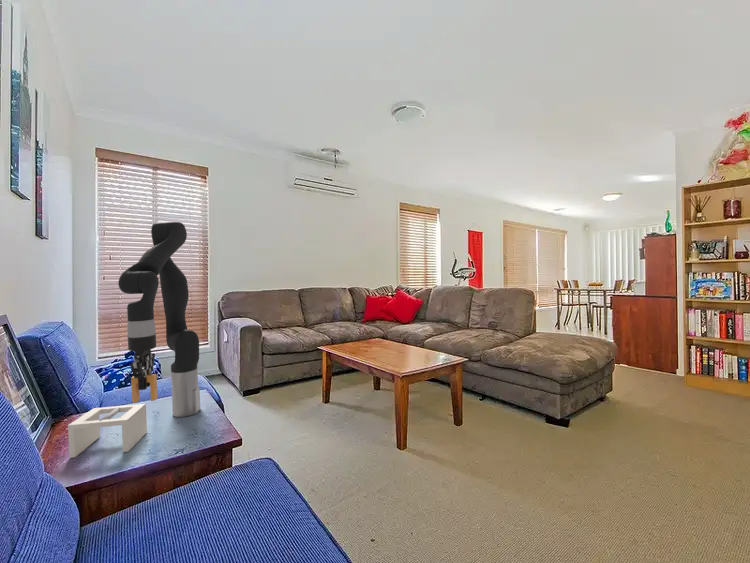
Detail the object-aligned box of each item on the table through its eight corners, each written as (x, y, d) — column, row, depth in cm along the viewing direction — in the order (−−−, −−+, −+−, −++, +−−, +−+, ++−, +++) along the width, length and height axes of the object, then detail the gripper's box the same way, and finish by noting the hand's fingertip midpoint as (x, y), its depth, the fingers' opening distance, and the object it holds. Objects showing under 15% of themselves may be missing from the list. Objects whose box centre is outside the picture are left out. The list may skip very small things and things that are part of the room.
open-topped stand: (147, 431, 127) (145, 403, 127) (128, 451, 113) (126, 419, 113) (95, 437, 124) (93, 408, 123) (69, 457, 110) (67, 425, 110)
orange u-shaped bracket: (157, 398, 118) (156, 373, 118) (155, 400, 116) (153, 375, 115) (135, 400, 117) (134, 375, 116) (132, 402, 114) (131, 377, 114)
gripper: (146, 337, 109) (149, 394, 110) (162, 329, 123) (165, 380, 124) (118, 339, 108) (121, 396, 108) (137, 331, 121) (140, 382, 122)
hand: (144, 387), depth 116 cm, fingers closed on orange u-shaped bracket, 2 cm apart
